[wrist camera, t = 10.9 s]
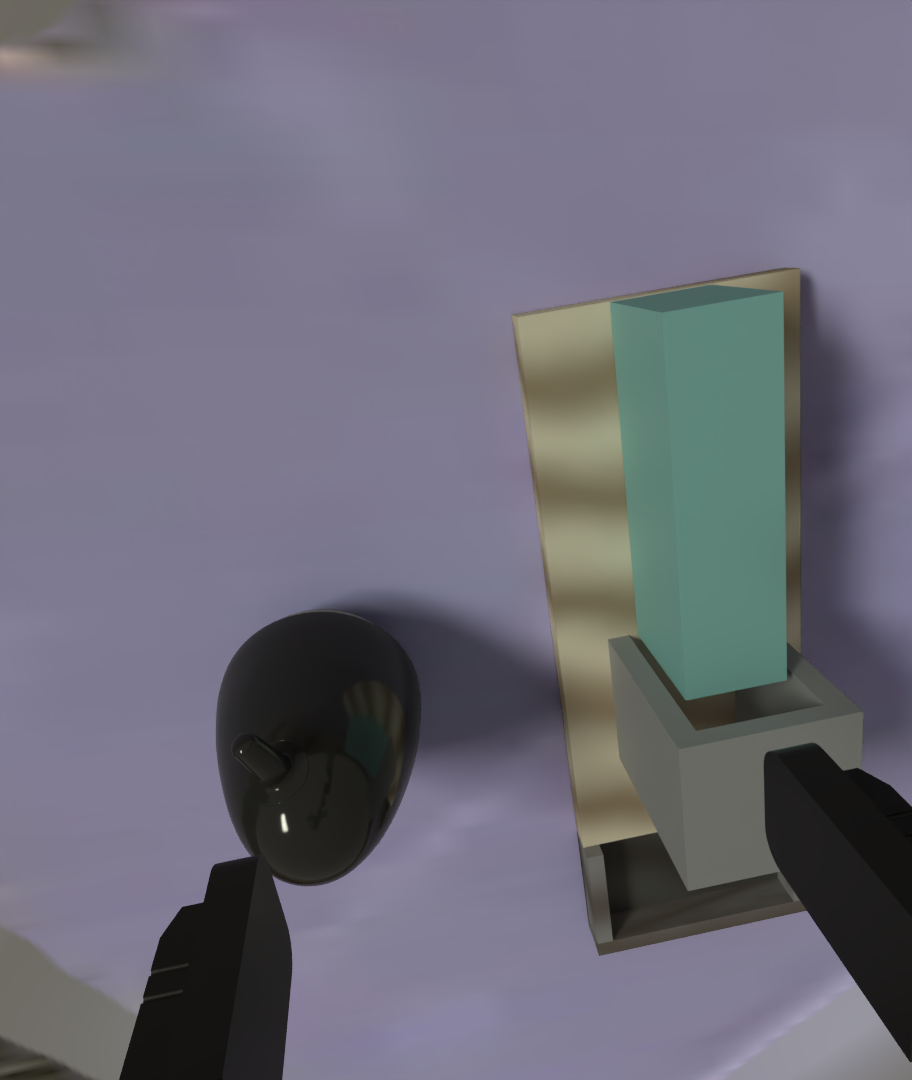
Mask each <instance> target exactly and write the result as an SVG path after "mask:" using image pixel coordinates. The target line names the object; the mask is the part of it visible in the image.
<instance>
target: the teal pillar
mask: <svg viewBox="0 0 912 1080" xmlns="http://www.w3.org/2000/svg"><path fill="white" fill-rule="evenodd" d="M610 310H611V322H612V334H613V346H614V357H615V369H616V381H617V393H618V405H619V417H620V429H621V441H622V453H623V465H624V477H625V489H626V501H627V513H628V525H629V537H630V549H631V561H632V573H633V584H634V596H635V608H636V620H637V632H638V636H639V637H640V638H641V640H642V641H643V642H644V644H645V645H646V647H647V648H648V649H649V651H650V652H651V653H652V655H653V656H654V658H655V659H656V660H657V662H658V663H659V664H660V666H661V667H662V669H663V670H664V671H665V673H666V674H667V675H668V677H669V678H670V680H671V681H672V682H673V684H674V685H675V686H676V688H677V689H678V691H679V692H680V693H681V695H682V696H683V697H684V699H685V700H686V701H687V700H692V699H696V698H701V697H706V696H711V695H716V694H721V693H726V692H731V691H736V690H741V689H746V688H751V687H756V686H761V685H766V684H771V683H776V682H781V681H786V680H787V636H786V525H785V414H784V303H783V291H773V290H762V289H752V288H741V287H731V286H720V285H706V286H700V287H694V288H688V289H683V290H677V291H671V292H665V293H660V294H654V295H648V296H642V297H637V298H631V299H625V300H619V301H614V302H610Z"/></svg>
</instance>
